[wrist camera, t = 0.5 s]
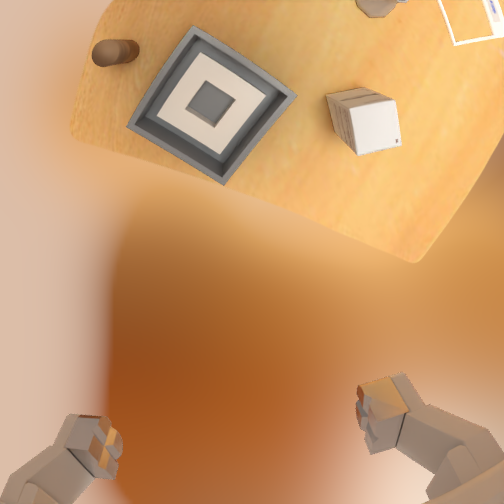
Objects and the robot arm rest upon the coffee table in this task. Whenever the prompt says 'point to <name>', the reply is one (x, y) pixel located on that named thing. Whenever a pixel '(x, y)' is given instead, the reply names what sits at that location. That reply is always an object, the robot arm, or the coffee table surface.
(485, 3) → the photo frame
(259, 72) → the bin
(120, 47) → the peg
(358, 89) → the supplement box
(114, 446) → the robot arm
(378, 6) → the flask
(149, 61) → the coffee table surface
